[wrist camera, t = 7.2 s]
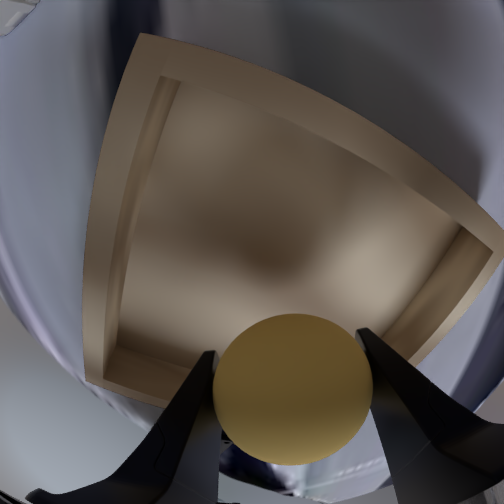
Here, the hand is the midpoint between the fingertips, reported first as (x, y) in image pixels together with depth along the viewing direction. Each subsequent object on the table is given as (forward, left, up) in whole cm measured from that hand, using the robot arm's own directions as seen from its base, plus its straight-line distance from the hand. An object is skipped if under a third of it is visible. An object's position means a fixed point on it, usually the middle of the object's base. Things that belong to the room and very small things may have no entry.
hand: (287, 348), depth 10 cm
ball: (0, 0, +2) cm, 2 cm away
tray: (0, 0, -4) cm, 4 cm away
